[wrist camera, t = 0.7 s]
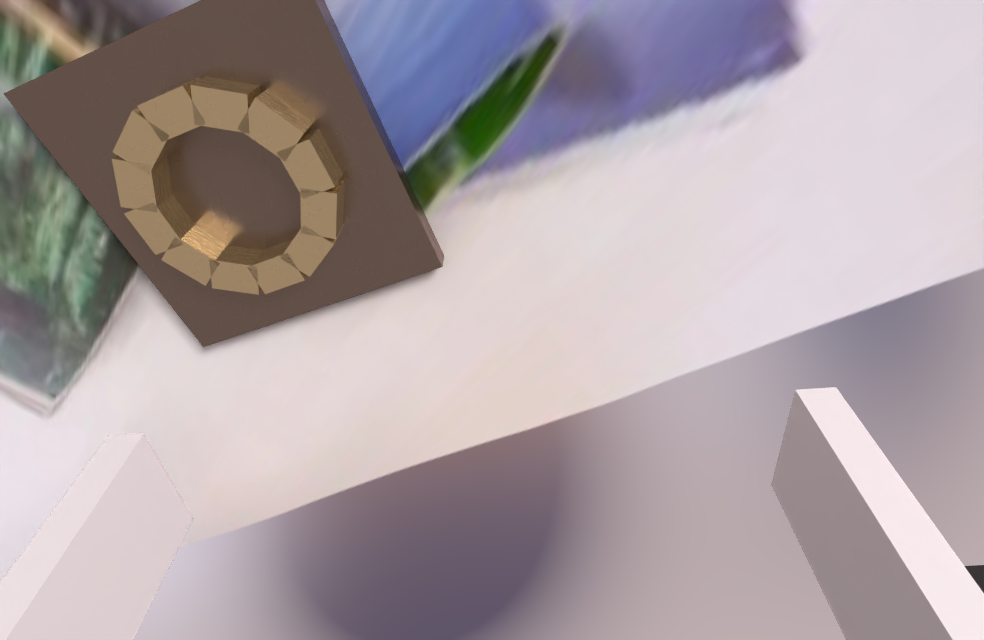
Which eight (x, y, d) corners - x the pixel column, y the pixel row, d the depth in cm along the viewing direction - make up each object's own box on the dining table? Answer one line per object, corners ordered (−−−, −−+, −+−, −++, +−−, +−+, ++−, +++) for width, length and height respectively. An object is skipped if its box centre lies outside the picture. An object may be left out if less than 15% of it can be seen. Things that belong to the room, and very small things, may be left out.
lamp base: (21, 87, 34) (-24, 102, 31) (302, -46, 30) (281, -42, 27) (212, 334, 43) (191, 364, 40) (444, 256, 39) (439, 282, 36)
